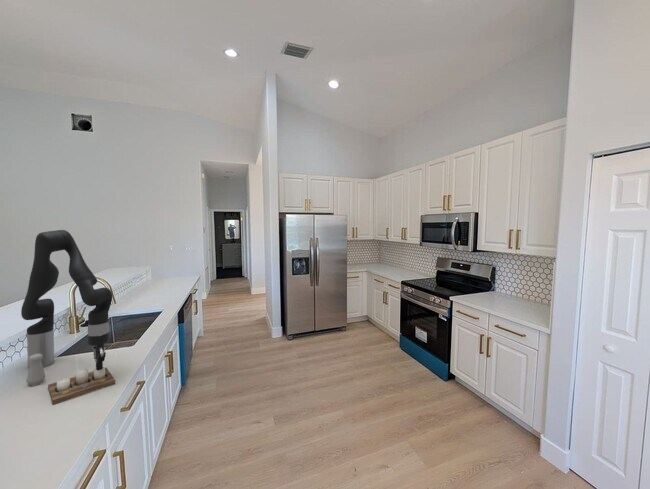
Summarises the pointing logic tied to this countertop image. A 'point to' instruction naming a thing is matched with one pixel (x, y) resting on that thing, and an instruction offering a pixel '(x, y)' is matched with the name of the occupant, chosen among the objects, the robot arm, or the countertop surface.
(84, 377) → the button
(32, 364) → the salt shaker
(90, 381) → the board
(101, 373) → the button
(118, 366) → the countertop surface
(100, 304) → the robot arm
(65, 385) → the white domed cylinder
